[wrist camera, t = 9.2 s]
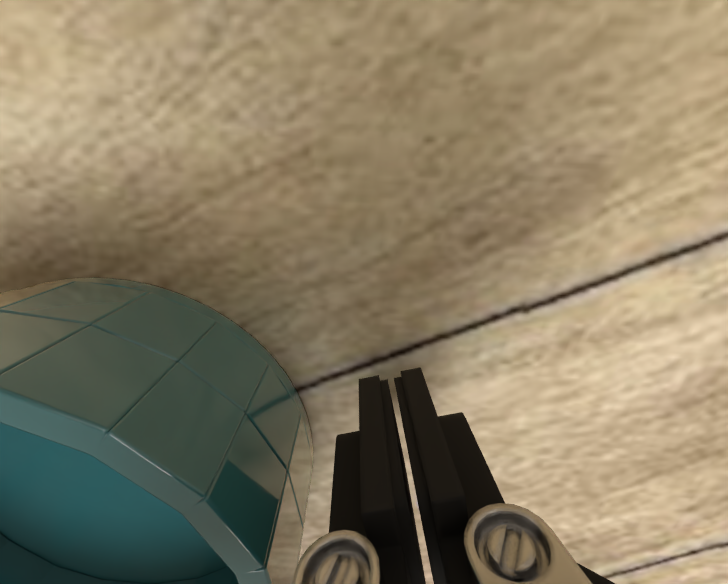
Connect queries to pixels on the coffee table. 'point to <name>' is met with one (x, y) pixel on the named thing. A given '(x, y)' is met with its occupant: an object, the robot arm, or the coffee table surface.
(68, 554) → the bowl
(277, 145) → the coffee table surface
